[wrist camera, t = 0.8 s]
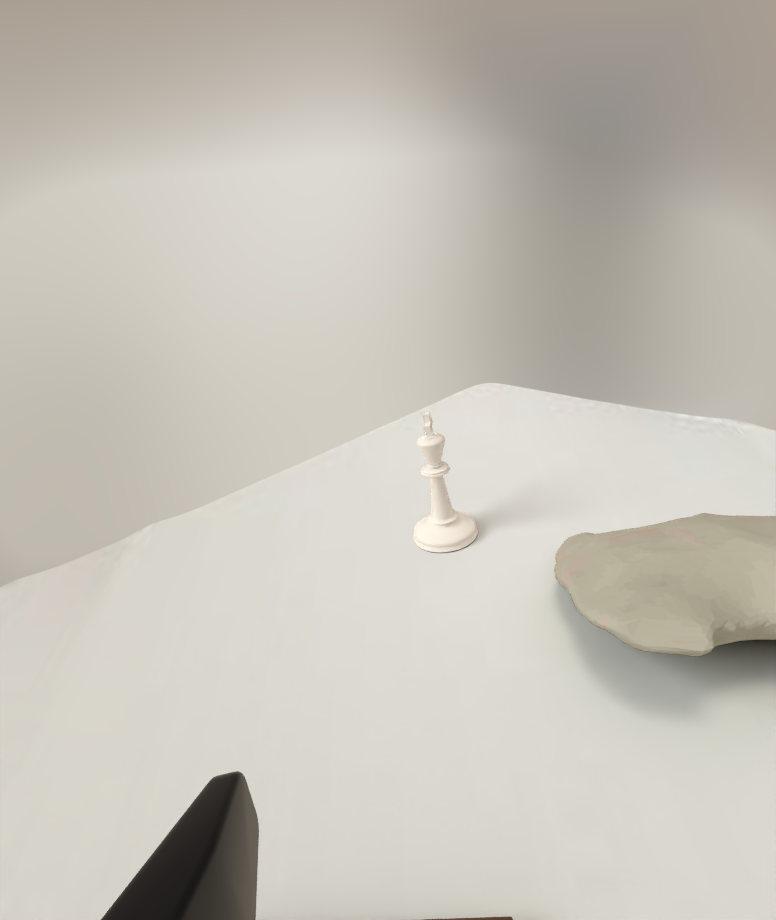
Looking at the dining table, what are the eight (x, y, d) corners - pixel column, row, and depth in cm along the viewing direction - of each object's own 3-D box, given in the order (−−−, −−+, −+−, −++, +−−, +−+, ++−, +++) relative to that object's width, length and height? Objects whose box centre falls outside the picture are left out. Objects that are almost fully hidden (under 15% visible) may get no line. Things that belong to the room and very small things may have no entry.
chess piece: (410, 555, 42) (386, 430, 38) (417, 520, 46) (396, 405, 42) (477, 550, 41) (460, 422, 37) (478, 515, 45) (462, 397, 41)
